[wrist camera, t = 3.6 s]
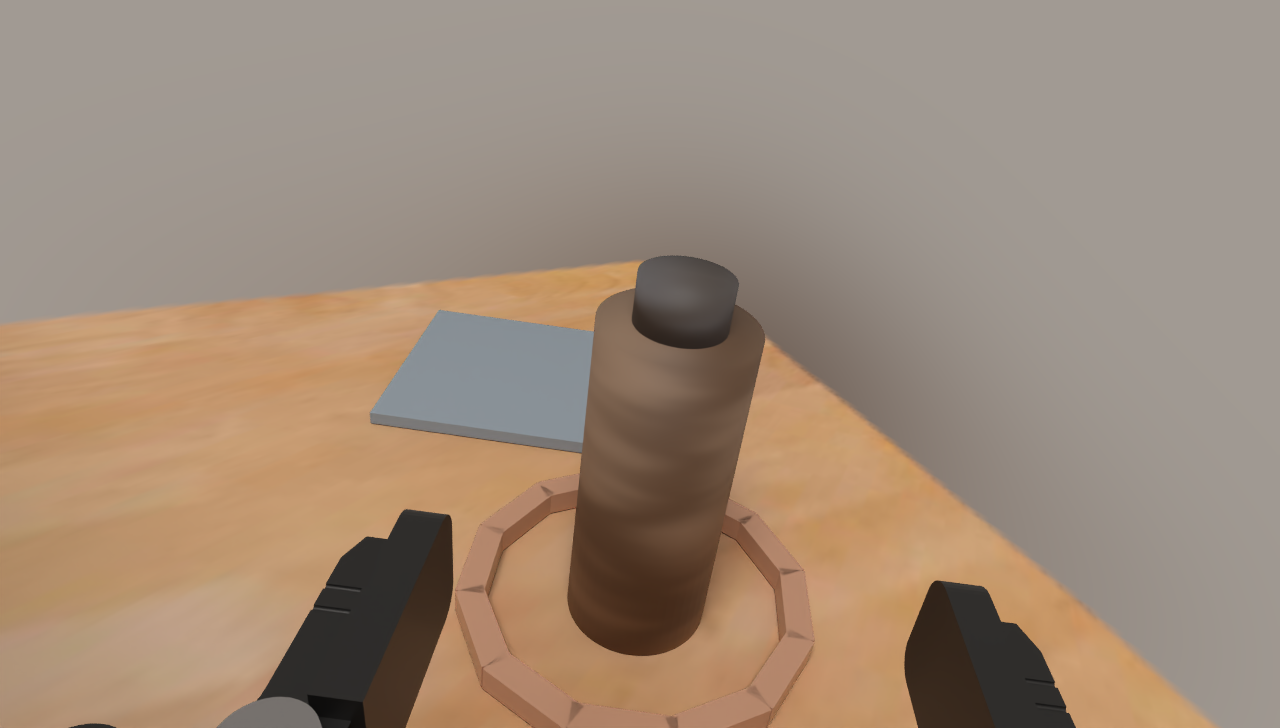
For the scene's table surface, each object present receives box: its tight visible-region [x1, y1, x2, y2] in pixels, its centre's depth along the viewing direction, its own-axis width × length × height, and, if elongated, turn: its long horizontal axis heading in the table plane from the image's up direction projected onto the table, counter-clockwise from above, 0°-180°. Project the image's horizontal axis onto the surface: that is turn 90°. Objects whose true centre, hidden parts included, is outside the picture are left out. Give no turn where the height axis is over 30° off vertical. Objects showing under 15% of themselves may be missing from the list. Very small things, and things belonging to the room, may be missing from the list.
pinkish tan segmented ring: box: [455, 473, 815, 728], centre depth 29 cm, size 13×13×1 cm
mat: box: [370, 310, 594, 453], centre depth 42 cm, size 11×11×1 cm
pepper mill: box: [568, 256, 765, 656], centre depth 26 cm, size 5×5×14 cm
